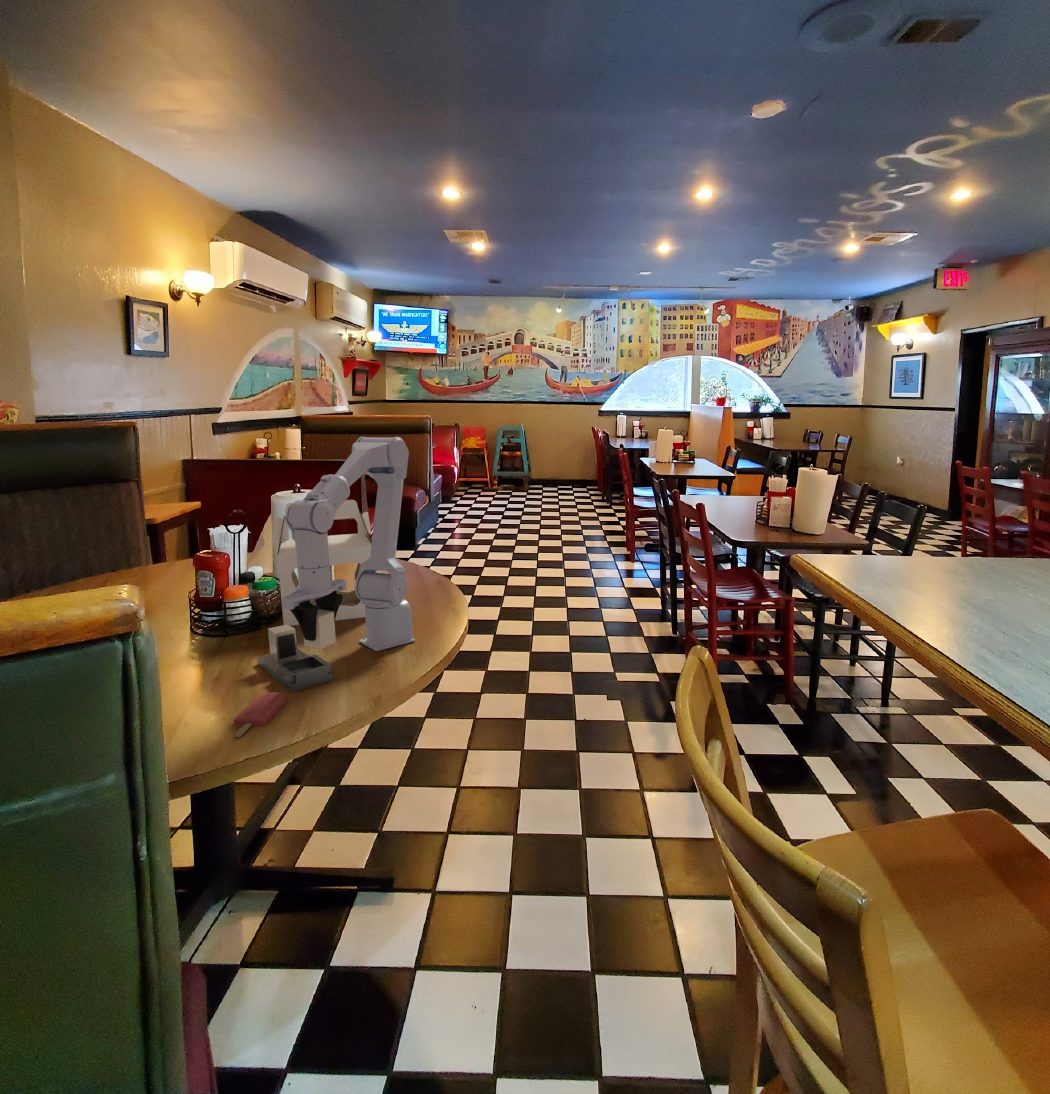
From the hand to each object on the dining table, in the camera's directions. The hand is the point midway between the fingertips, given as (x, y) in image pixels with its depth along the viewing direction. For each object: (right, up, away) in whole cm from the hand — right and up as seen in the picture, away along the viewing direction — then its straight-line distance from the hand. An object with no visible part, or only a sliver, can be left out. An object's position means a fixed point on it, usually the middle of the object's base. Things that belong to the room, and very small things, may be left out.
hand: (319, 636), depth 128 cm
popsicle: (-6, -12, -13) cm, 19 cm away
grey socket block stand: (-7, -8, +6) cm, 12 cm away
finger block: (0, -2, 0) cm, 2 cm away
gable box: (-10, 0, +42) cm, 43 cm away
